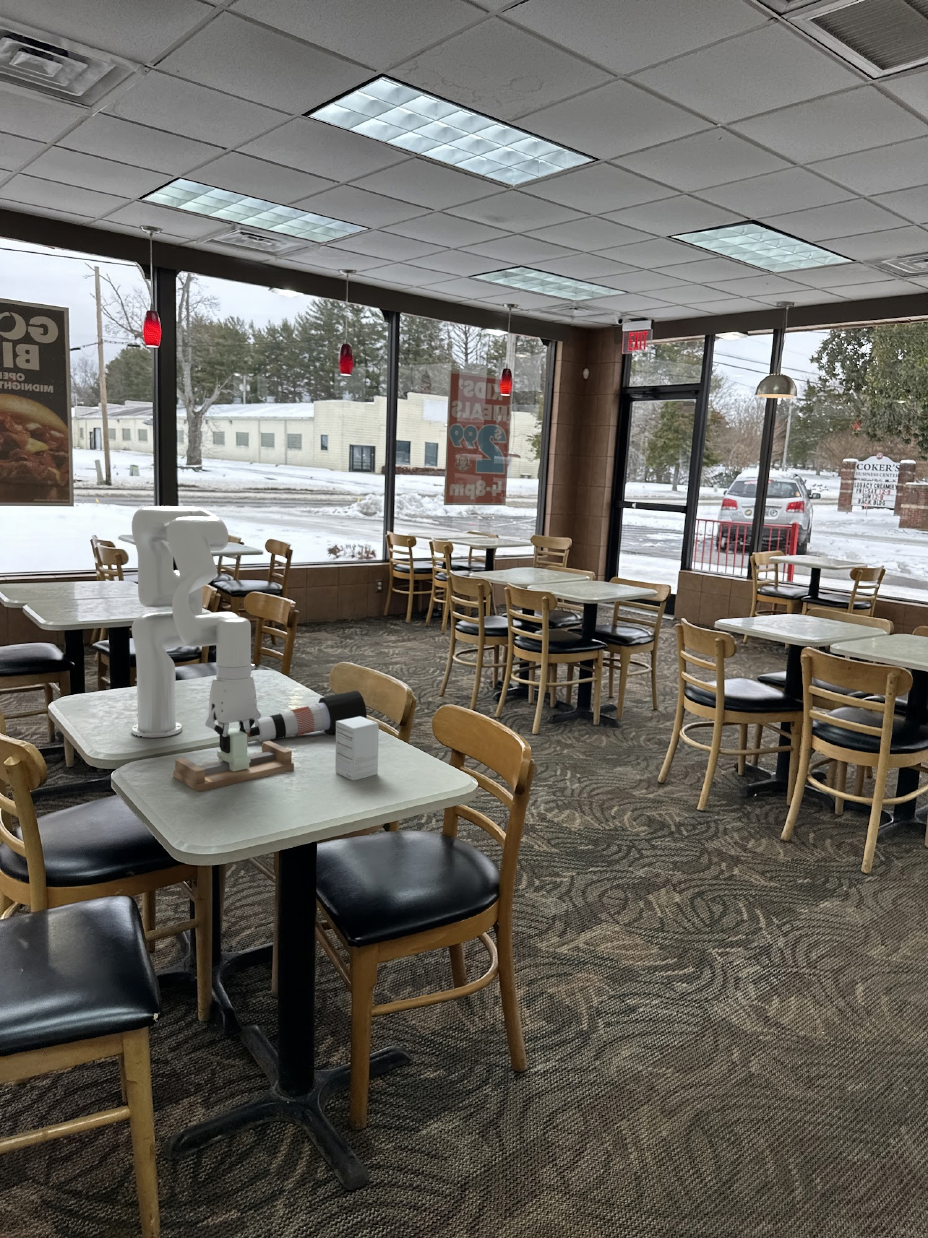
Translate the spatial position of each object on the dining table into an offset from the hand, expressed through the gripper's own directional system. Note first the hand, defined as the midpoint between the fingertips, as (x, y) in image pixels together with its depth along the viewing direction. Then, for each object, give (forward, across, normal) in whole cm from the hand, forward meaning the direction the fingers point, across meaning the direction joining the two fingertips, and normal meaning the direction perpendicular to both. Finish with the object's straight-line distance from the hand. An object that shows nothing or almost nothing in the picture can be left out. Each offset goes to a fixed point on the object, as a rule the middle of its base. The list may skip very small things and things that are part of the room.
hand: (233, 749), depth 197 cm
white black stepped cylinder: (+6, -29, -15) cm, 33 cm away
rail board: (+6, 0, 0) cm, 6 cm away
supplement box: (+6, -22, +17) cm, 29 cm away
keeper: (+4, 0, 0) cm, 4 cm away
